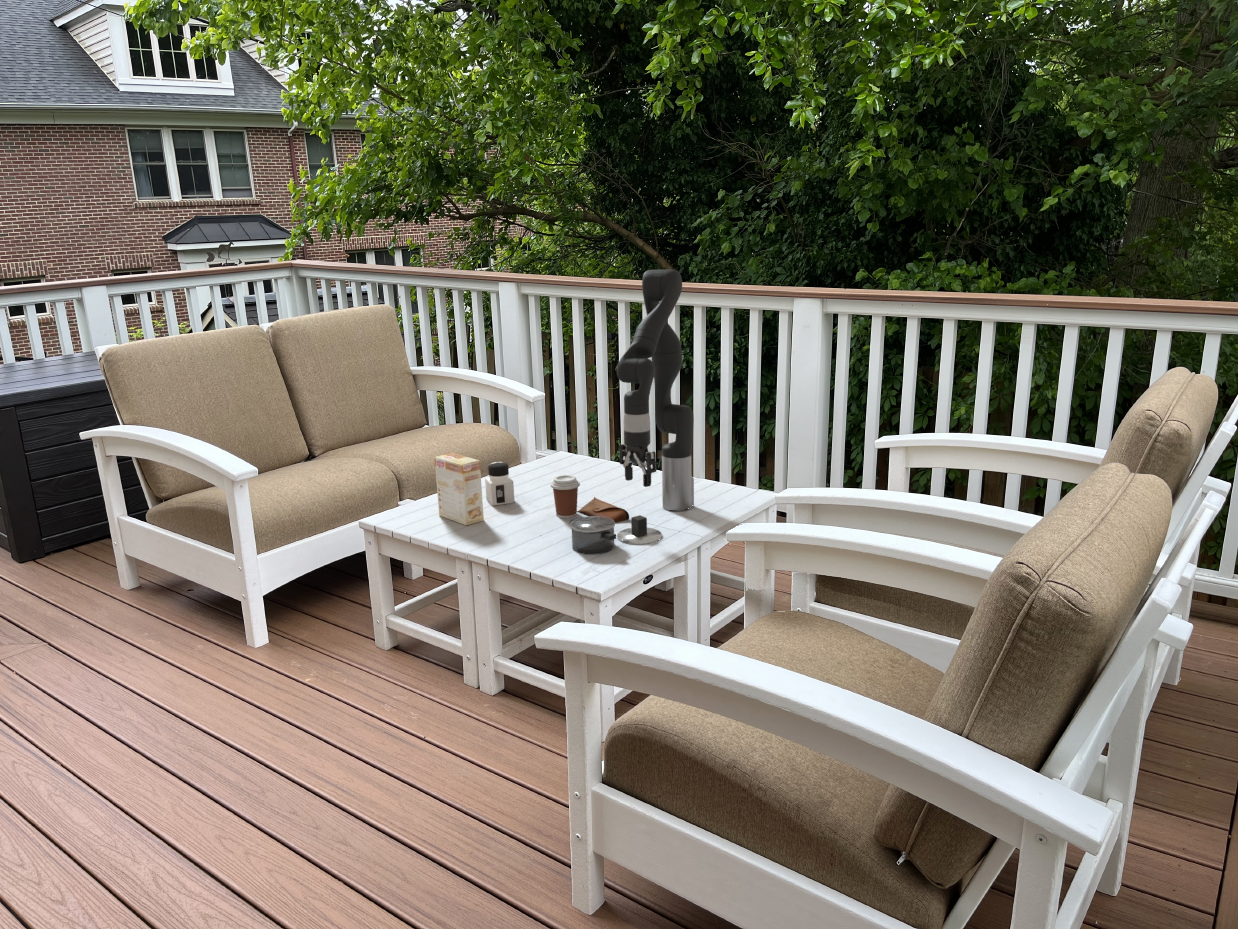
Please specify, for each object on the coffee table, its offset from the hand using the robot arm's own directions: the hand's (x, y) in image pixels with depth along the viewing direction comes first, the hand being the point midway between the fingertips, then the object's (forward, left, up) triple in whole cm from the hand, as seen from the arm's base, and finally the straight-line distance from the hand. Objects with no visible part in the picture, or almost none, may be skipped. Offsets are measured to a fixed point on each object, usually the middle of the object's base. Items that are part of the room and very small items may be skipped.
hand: (637, 483), depth 272 cm
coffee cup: (+5, -31, -17) cm, 35 cm away
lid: (0, 0, -17) cm, 17 cm away
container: (+14, -57, -17) cm, 61 cm away
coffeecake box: (+32, -50, -17) cm, 62 cm away
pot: (+15, -2, -16) cm, 22 cm away
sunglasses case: (-3, -23, -17) cm, 29 cm away
